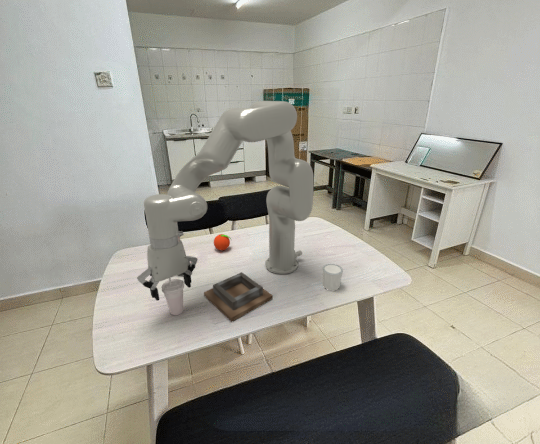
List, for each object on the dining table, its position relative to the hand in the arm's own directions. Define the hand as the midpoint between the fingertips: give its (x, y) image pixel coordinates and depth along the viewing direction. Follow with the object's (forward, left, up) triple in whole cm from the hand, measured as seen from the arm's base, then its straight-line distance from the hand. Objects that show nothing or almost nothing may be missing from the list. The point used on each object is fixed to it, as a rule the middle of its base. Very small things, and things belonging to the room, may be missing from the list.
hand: (172, 291), depth 85 cm
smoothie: (0, 0, -8) cm, 8 cm away
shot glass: (-46, +23, -8) cm, 52 cm away
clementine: (-32, -24, -8) cm, 41 cm away
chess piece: (-11, -19, -8) cm, 23 cm away
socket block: (-18, +7, -7) cm, 21 cm away
